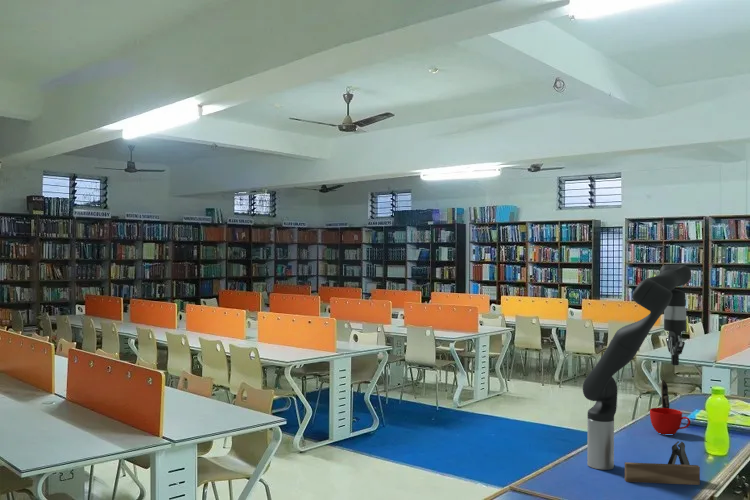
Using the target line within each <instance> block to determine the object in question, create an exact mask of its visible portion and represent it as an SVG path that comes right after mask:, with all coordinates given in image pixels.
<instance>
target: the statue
mask: <svg viewBox="0 0 750 500" xmlns="http://www.w3.org/2000/svg"><path fill="white" fill-rule="evenodd" d="M660 391H661V392H660V394H661V395H660V396H661V408H669V409H670V401H669V400H670V399H669V397H670V396H669V388H668V384H667V382H666V381H665V380H664V379H661V390H660Z"/></svg>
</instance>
